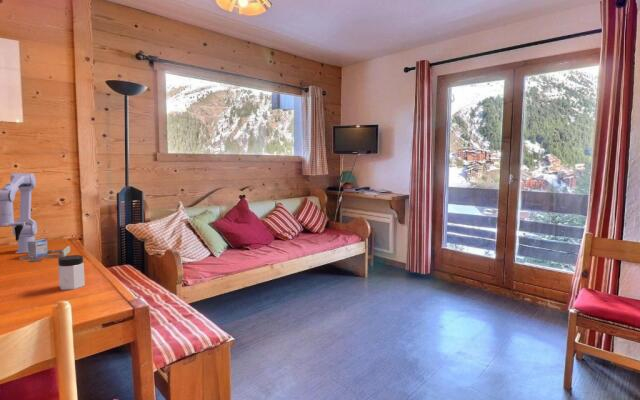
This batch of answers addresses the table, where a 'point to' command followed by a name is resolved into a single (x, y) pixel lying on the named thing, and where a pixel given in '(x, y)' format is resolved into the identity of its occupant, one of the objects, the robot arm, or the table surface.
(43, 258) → the grey plate
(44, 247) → the medicine box
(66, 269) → the jar
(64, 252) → the channel
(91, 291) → the table surface
